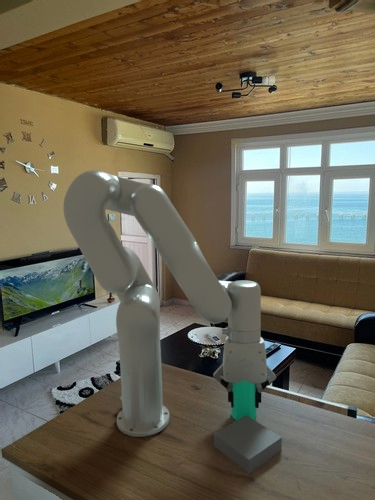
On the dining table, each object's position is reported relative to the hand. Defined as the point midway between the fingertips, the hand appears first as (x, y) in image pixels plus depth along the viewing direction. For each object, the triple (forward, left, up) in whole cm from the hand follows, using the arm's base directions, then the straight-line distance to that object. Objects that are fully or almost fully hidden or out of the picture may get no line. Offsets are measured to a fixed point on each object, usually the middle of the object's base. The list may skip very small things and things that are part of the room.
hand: (244, 403), depth 87 cm
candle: (0, 0, -3) cm, 3 cm away
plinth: (+8, -8, -3) cm, 12 cm away
